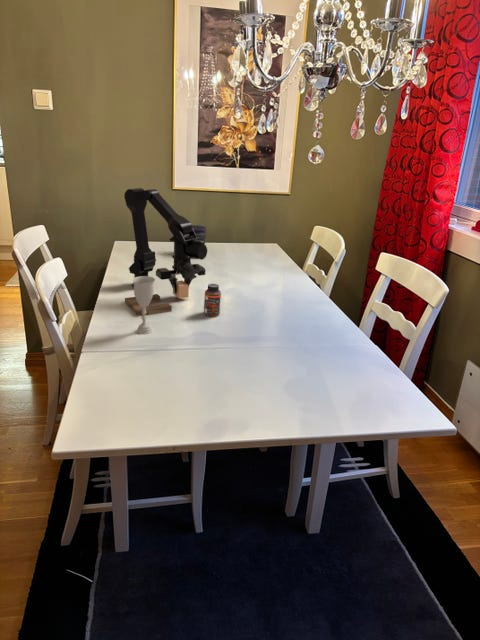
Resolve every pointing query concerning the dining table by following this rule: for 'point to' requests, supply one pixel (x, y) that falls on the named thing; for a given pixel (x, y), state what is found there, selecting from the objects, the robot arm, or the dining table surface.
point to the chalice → (143, 299)
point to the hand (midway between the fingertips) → (180, 292)
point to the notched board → (154, 309)
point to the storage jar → (199, 234)
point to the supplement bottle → (212, 300)
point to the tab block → (182, 289)
